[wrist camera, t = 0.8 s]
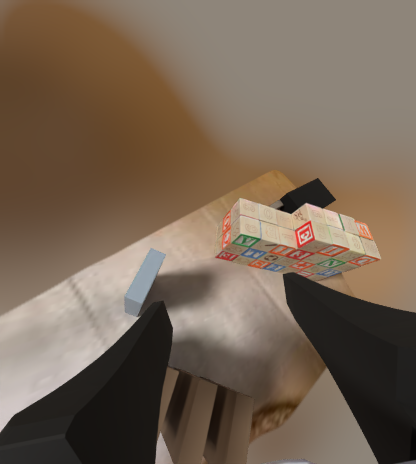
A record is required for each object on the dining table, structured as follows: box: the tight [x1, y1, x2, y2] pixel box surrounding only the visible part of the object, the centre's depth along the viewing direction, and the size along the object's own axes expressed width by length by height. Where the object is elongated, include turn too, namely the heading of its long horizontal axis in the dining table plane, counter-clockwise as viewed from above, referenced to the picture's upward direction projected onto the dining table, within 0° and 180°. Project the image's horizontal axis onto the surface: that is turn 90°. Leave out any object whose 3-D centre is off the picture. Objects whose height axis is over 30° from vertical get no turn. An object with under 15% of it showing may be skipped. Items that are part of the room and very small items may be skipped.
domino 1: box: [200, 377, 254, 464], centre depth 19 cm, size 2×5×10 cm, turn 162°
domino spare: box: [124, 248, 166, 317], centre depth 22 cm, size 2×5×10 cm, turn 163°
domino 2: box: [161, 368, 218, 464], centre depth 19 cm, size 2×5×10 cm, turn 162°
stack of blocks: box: [215, 198, 381, 281], centre depth 32 cm, size 21×6×12 cm, turn 85°
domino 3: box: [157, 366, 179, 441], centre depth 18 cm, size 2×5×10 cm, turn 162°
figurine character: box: [269, 178, 336, 214], centre depth 42 cm, size 7×8×15 cm
